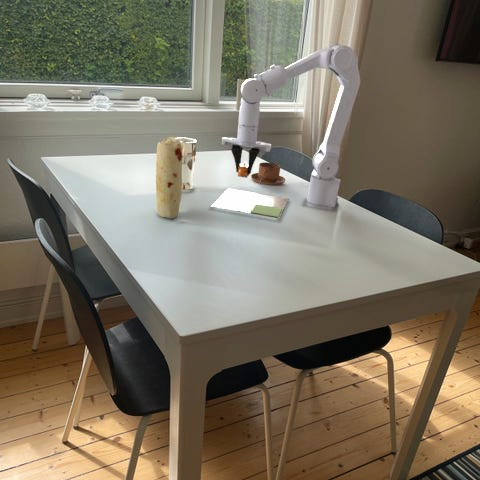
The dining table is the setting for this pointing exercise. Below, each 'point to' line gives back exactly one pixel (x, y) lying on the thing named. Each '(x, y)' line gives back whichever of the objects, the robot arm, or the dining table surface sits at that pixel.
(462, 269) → the dining table surface
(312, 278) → the dining table surface
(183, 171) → the beer glass
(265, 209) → the corner pad
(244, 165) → the goldfish
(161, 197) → the food model
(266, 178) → the cup and saucer
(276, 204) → the board
